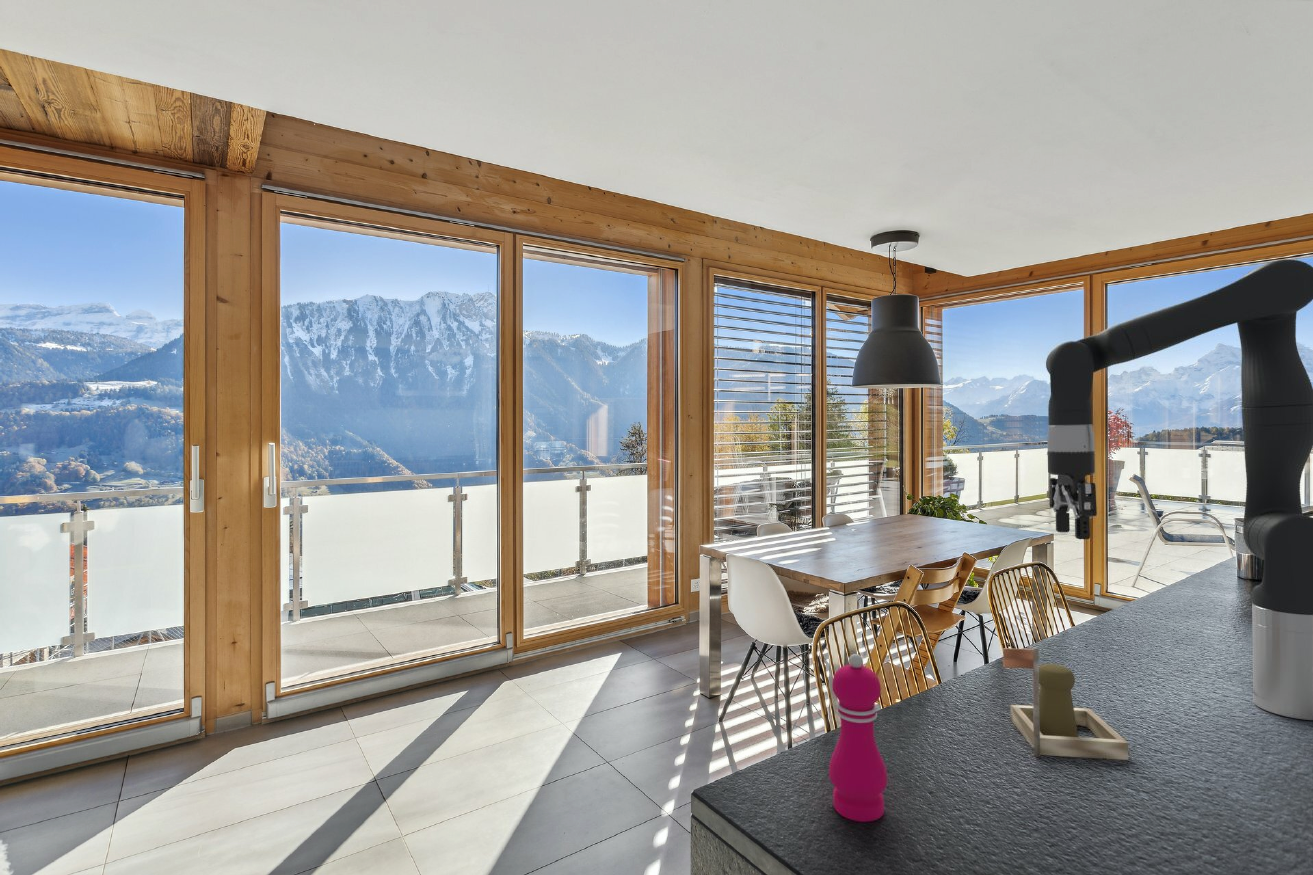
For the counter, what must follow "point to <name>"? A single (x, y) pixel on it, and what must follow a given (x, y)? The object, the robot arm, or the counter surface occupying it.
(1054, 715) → the cork
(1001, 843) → the counter surface
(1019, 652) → the wooden square frame
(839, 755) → the pepper mill
